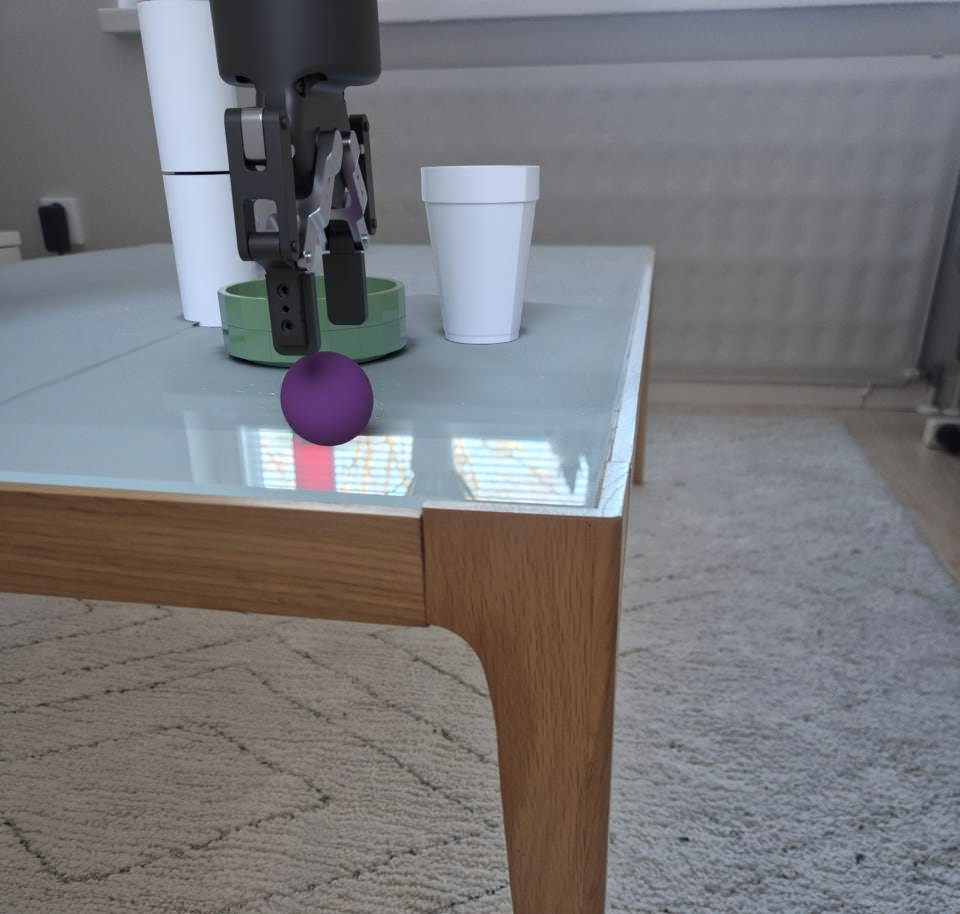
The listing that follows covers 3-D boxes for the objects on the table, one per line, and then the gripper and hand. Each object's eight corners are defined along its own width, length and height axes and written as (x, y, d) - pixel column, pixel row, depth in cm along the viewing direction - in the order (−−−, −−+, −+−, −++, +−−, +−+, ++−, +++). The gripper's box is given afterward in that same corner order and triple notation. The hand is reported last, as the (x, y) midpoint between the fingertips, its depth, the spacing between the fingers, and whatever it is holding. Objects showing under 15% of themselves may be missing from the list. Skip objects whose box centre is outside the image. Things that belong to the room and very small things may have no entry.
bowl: (196, 369, 70) (186, 298, 68) (266, 334, 82) (259, 274, 80) (381, 373, 68) (376, 301, 66) (424, 337, 80) (421, 275, 78)
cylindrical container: (170, 325, 87) (118, 2, 75) (207, 313, 93) (165, 12, 82) (240, 327, 86) (199, -2, 74) (274, 315, 92) (240, 8, 80)
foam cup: (465, 324, 86) (462, 165, 80) (555, 332, 82) (560, 165, 76) (405, 341, 79) (398, 168, 73) (501, 351, 75) (501, 168, 69)
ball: (271, 456, 50) (260, 360, 48) (302, 430, 55) (294, 342, 52) (362, 459, 49) (355, 362, 47) (386, 433, 54) (381, 343, 52)
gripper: (268, -12, 49) (302, 316, 56) (134, -65, 36) (200, 365, 44) (409, -19, 47) (424, 317, 55) (321, -76, 35) (356, 367, 43)
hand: (325, 338), depth 49 cm, fingers open, 8 cm apart
